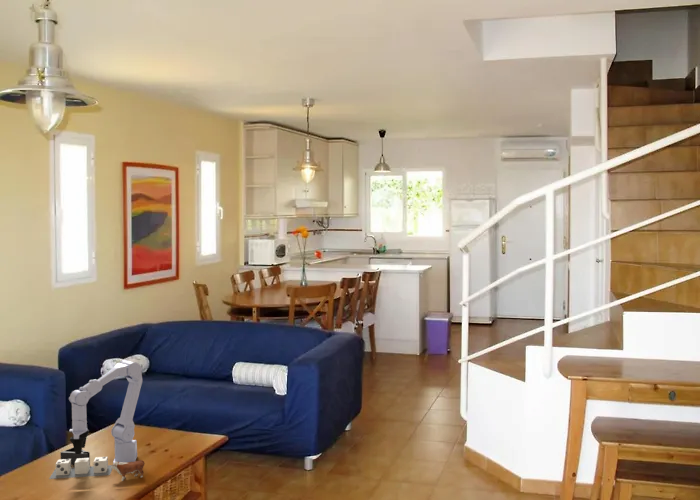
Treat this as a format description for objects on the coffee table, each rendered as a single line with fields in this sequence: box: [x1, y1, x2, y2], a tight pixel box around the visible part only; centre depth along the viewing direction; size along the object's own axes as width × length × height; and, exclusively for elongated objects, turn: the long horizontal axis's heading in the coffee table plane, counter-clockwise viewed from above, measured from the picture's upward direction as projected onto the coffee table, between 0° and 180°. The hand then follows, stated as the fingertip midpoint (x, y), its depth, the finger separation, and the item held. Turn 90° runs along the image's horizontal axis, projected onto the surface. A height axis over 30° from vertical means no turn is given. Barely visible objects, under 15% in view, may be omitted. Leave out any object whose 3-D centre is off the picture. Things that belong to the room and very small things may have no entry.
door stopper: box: [60, 446, 91, 466], centre depth 315 cm, size 9×6×12 cm
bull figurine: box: [111, 459, 146, 482], centre depth 297 cm, size 4×13×8 cm, turn 114°
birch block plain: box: [74, 458, 91, 474], centre depth 305 cm, size 5×5×5 cm
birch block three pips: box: [55, 458, 72, 475], centre depth 303 cm, size 5×5×5 cm
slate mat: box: [48, 464, 113, 480], centre depth 305 cm, size 24×12×1 cm, turn 100°
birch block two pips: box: [93, 456, 109, 473], centre depth 306 cm, size 5×5×5 cm
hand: (80, 450), depth 305 cm, fingers open, 7 cm apart
